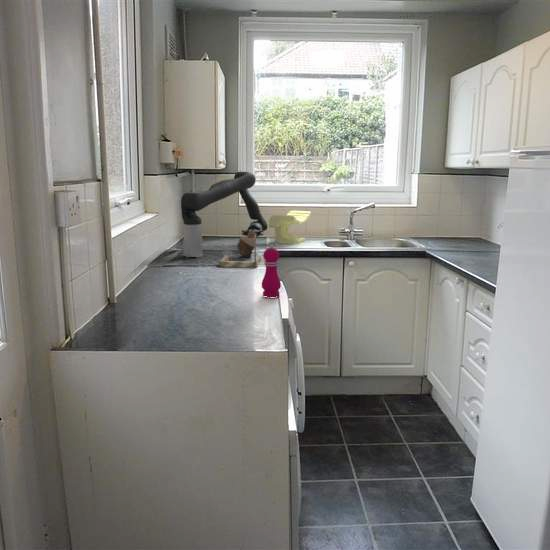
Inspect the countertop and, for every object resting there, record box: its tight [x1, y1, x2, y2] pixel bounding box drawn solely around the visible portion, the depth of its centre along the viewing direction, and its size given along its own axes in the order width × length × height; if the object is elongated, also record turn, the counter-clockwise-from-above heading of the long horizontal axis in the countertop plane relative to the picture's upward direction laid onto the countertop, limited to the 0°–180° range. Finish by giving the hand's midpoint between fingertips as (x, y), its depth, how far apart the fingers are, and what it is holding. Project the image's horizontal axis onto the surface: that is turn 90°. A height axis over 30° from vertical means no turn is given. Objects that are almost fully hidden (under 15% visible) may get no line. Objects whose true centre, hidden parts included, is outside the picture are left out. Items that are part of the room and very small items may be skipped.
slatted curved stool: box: [268, 210, 312, 245], centre depth 320 cm, size 30×16×18 cm, turn 157°
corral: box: [219, 233, 262, 269], centre depth 252 cm, size 18×16×16 cm
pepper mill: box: [261, 243, 282, 297], centre depth 193 cm, size 7×7×20 cm
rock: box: [237, 236, 254, 258], centre depth 271 cm, size 12×10×10 cm
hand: (250, 235), depth 280 cm, fingers closed
